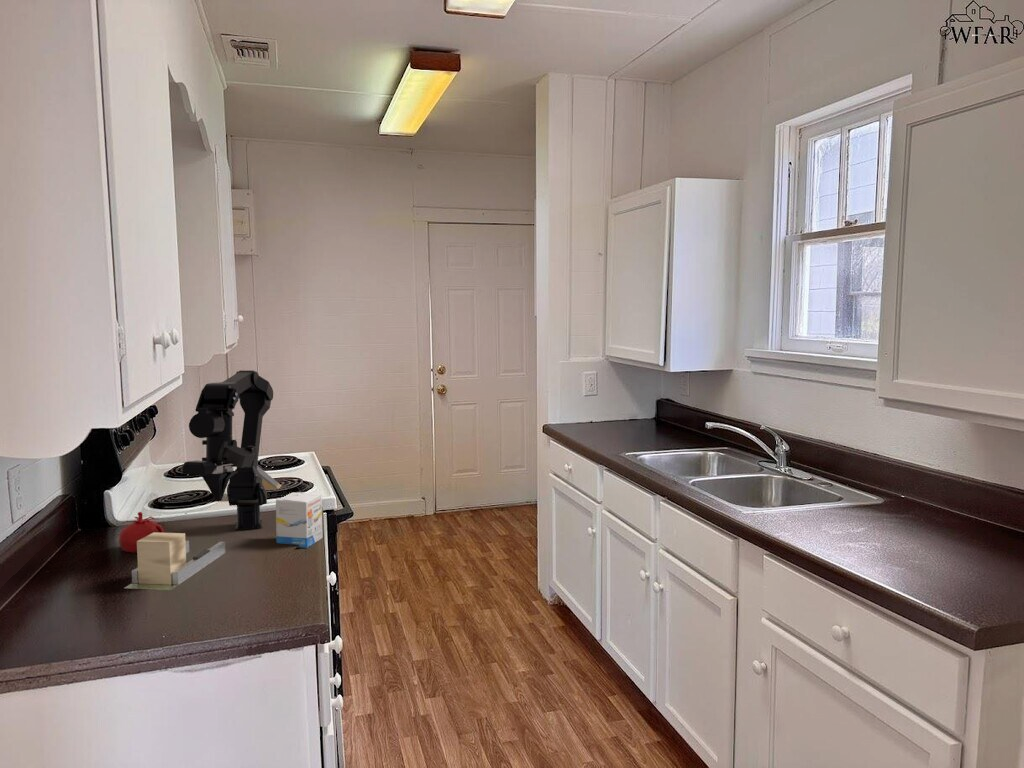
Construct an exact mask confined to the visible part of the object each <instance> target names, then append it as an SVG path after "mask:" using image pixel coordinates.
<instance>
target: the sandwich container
mask: <svg viewBox="0 0 1024 768" xmlns="http://www.w3.org/2000/svg"><path fill="white" fill-rule="evenodd" d="M257 470H258V472H259V473H260V475H261V477H262V484H263V486H264V488H265V490H274V489H279V488H280V487H281V486H282V485H281V484H280V483H279V482H278V481H276V479H274V478H273V477H272V476H270V475H269V474H268V473H267V472H266V471H265V470H263V469H262V468H261V467H260V466H259V465H257Z"/></svg>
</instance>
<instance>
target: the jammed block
mask: <svg viewBox="0 0 1024 768" xmlns="http://www.w3.org/2000/svg"><path fill="white" fill-rule="evenodd" d="M185 540H186V533H185V532H183V533H181V532H164V533H156V532H154V533H152V534H150V535H148V536H146V537H144V538H142V539H140V540H138V541H137V552H136V553H137V556H136V557H137V567H138V581H139V583H138V584H152V585H173V575H172V572H174V571H175V570H177V569H178V568H180V567H181V566H183V565H184V564H186V563H187V553H186V543H185Z"/></svg>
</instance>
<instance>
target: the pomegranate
mask: <svg viewBox="0 0 1024 768" xmlns="http://www.w3.org/2000/svg"><path fill="white" fill-rule="evenodd" d="M137 515H138V516H134V519H136V520H126V521H123V522H121V523H122V524H125V523H128V522H129V523H130V524H127V525H126V526H125V527H123V529H121V531H120V532H119V537H118V542H119V544H120V548H121V550H122V551H123V552H127V553H134V554H135V553H137V541H138V540H140V539H142V538H144V537H146V536H148V535H150V534H152V533H154V532H156V533H165V530H164V528H163V526H162V525H161V524H159V523H158V522H157V521H155V517H153V516H149V517H147V518H146V517H145V518H144V517H143V512H142V511H138V512H137ZM143 518H144V519H143ZM153 520H154V521H153ZM156 520H159V519H158V518H156Z"/></svg>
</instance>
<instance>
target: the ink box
mask: <svg viewBox="0 0 1024 768" xmlns="http://www.w3.org/2000/svg"><path fill="white" fill-rule="evenodd" d="M322 497H323V495H322V493H315V492H313V493H312V492H300V491H299V492H291V493H290V492H289V494H288V495H286V496H284V497H281V498H275V521H276V522H275V523H276V524H275V526H276V527H275V528H276V530H275V531H276V532H275V533H276V535H275V536H276V537H275V538H276V541H275V542H276V544H284V545H285V544H286V545H295V546H296V545H297V546H296V548H302V549H303V548H304V549H308V548H310V547H311V546H312V545H315V543H317V542H318V541H320V540H321V539H323V504H322V503H323V501H322V500H323V498H322ZM309 546H310V547H309Z"/></svg>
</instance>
